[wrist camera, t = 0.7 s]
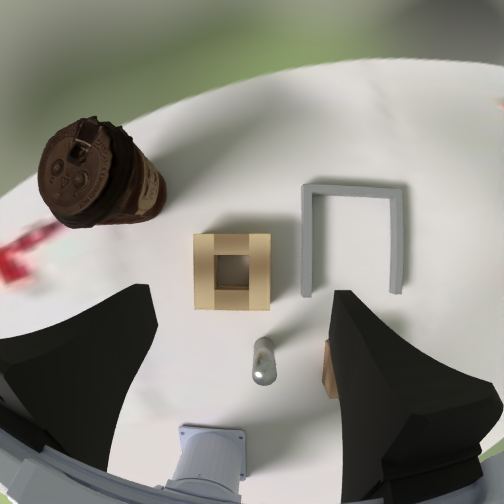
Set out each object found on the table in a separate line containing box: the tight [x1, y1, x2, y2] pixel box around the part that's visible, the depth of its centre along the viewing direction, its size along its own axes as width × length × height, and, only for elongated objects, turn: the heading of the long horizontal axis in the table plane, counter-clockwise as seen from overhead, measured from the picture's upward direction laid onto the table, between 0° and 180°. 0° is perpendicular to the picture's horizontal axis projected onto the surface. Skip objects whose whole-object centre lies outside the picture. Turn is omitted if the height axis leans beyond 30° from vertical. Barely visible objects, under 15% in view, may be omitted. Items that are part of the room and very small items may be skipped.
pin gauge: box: [252, 338, 277, 386], centre depth 26 cm, size 2×2×7 cm
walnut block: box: [322, 340, 339, 399], centre depth 27 cm, size 5×5×4 cm
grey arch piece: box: [301, 184, 404, 297], centre depth 28 cm, size 11×11×2 cm
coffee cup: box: [37, 116, 166, 229], centre depth 23 cm, size 9×8×13 cm
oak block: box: [193, 234, 270, 311], centre depth 28 cm, size 7×7×3 cm
